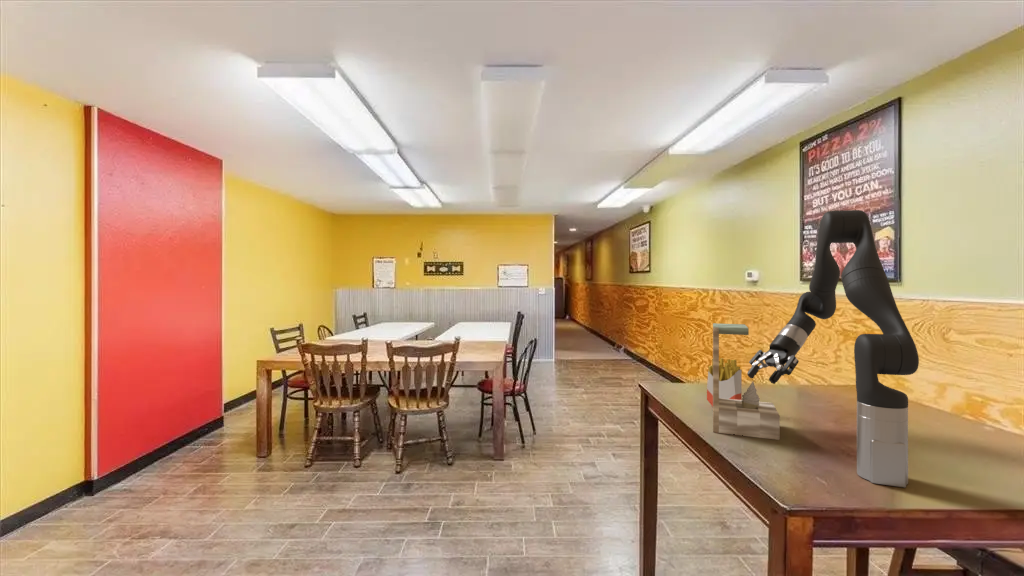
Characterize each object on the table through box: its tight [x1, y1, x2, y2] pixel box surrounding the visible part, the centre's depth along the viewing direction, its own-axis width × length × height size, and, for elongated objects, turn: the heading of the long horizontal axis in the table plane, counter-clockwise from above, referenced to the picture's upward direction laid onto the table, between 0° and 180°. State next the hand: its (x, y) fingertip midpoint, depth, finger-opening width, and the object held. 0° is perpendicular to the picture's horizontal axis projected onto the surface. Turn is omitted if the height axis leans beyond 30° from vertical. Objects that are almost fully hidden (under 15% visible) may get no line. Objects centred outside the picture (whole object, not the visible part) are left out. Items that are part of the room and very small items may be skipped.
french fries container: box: [706, 357, 743, 407], centre depth 166 cm, size 5×11×18 cm, turn 34°
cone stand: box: [712, 323, 781, 441], centre depth 143 cm, size 16×18×32 cm
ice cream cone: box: [742, 381, 760, 409], centre depth 143 cm, size 5×5×15 cm
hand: (760, 379), depth 144 cm, fingers open, 8 cm apart
